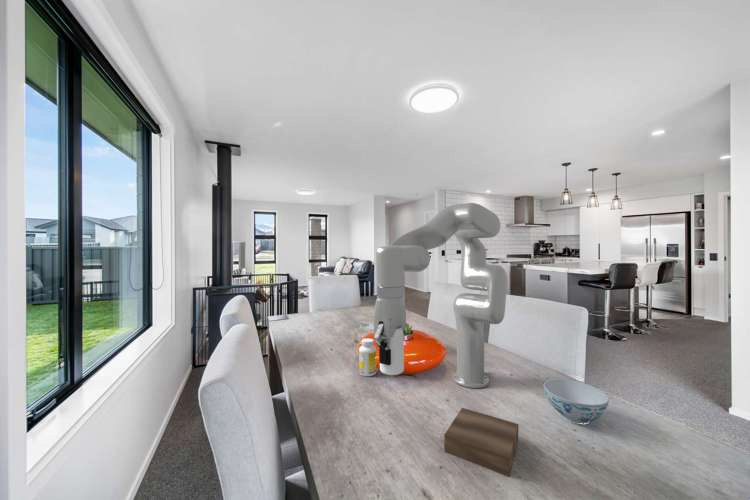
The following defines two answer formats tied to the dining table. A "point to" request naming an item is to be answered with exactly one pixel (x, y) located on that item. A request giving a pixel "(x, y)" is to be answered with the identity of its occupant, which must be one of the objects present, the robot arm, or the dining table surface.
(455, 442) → the base
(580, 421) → the chinaware
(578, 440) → the dining table surface
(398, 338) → the can
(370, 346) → the supplement bottle
